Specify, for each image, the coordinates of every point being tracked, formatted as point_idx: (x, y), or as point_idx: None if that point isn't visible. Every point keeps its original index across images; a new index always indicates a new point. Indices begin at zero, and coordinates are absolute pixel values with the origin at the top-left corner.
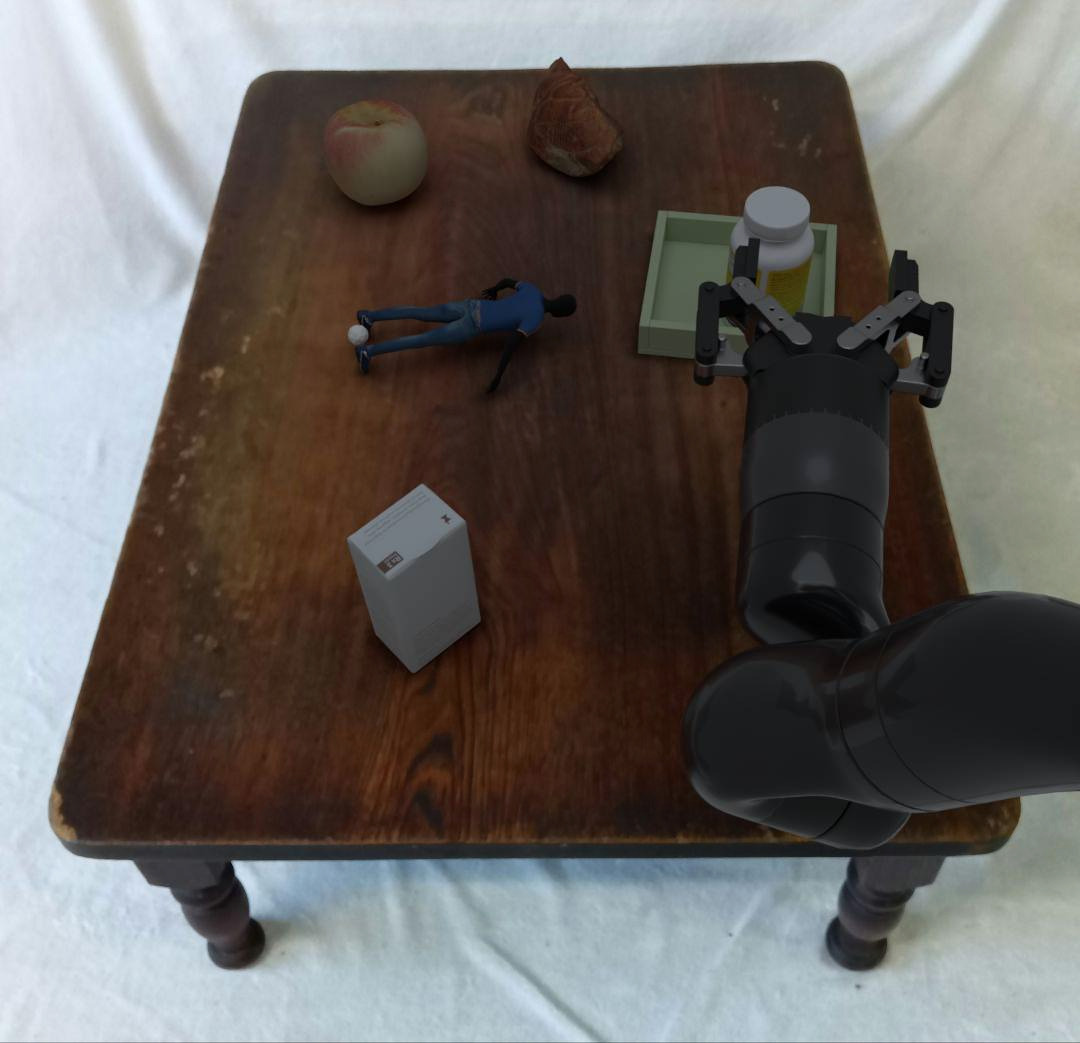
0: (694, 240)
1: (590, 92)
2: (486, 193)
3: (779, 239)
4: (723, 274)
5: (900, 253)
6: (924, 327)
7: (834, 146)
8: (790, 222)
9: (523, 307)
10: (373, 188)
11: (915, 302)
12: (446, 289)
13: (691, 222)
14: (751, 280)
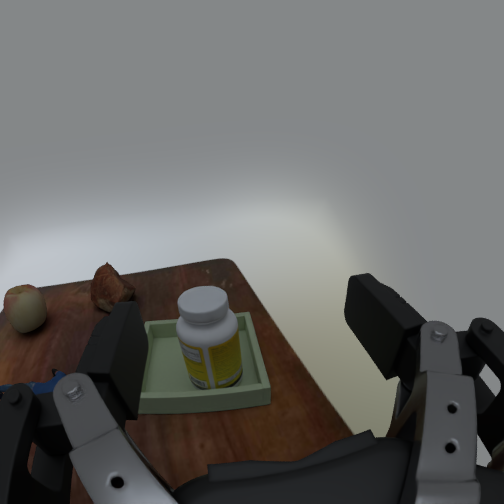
0: (170, 335)
1: (112, 270)
2: (72, 324)
3: (208, 321)
4: None
5: (364, 277)
6: (464, 372)
7: (238, 281)
8: (213, 306)
9: (52, 388)
10: (17, 323)
11: (452, 337)
12: (41, 374)
13: (164, 325)
14: (102, 379)
